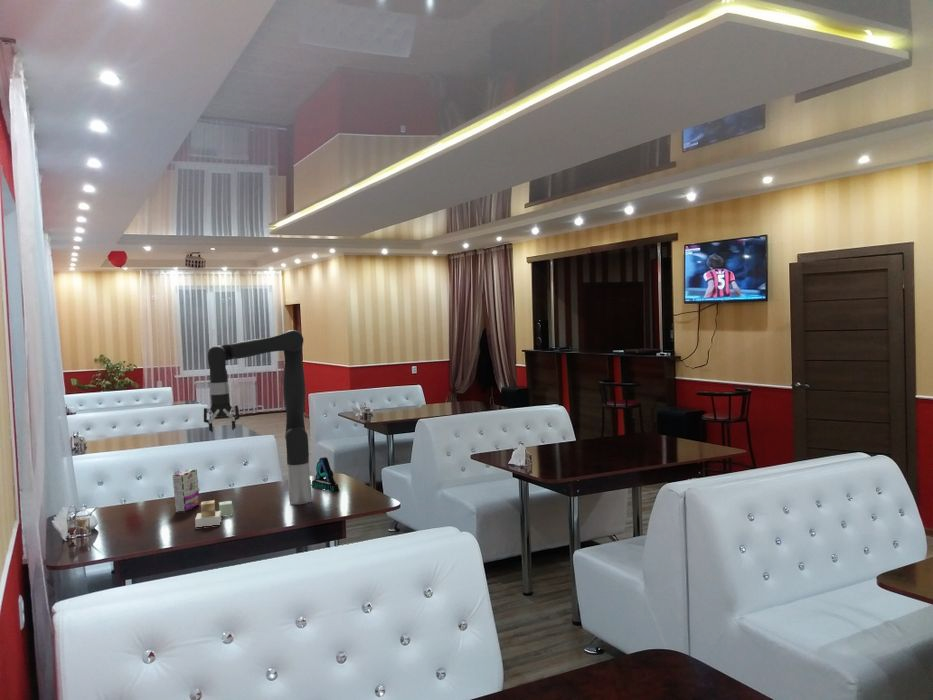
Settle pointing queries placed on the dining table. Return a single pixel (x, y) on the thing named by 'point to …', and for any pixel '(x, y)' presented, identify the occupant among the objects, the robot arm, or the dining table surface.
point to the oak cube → (208, 508)
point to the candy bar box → (186, 490)
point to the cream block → (208, 519)
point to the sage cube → (226, 508)
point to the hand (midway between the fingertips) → (222, 430)
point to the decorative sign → (324, 476)
